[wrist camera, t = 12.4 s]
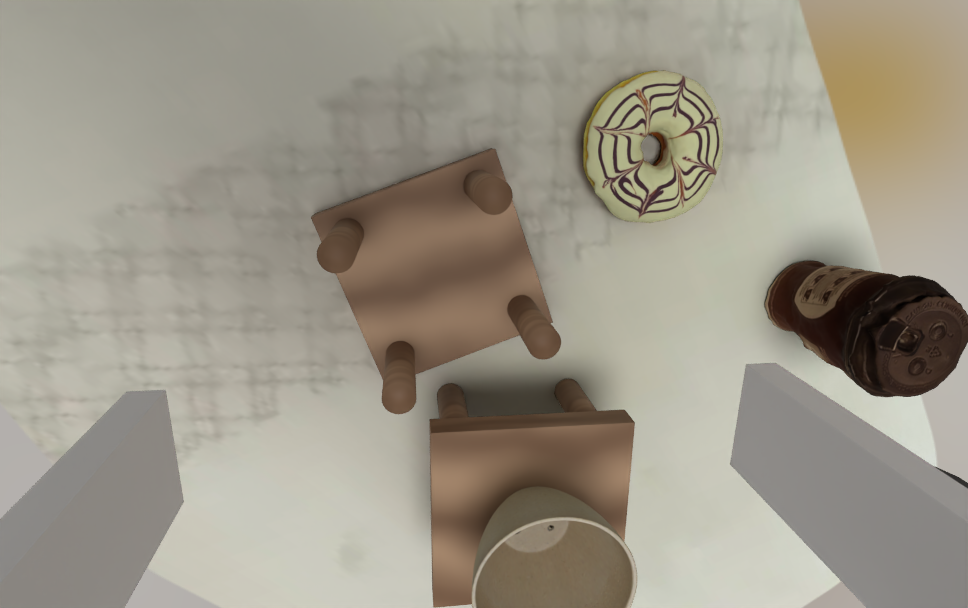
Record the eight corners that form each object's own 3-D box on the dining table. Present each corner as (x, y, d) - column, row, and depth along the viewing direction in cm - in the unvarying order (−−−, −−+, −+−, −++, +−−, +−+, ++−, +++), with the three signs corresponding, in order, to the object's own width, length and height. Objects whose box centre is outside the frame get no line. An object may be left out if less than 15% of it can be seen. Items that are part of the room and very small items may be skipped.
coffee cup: (737, 276, 50) (848, 323, 37) (825, 226, 49) (965, 257, 37) (772, 358, 52) (887, 428, 40) (856, 312, 52) (997, 367, 40)
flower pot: (587, 437, 40) (624, 498, 34) (610, 554, 43) (648, 632, 37) (445, 475, 40) (454, 546, 33) (478, 591, 43) (492, 678, 36)
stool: (425, 374, 48) (430, 433, 39) (591, 367, 50) (634, 422, 41) (428, 521, 52) (433, 607, 43) (582, 510, 54) (619, 590, 44)
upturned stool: (314, 213, 44) (289, 235, 34) (491, 148, 44) (515, 152, 35) (386, 375, 48) (381, 435, 38) (547, 314, 48) (581, 359, 39)
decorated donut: (610, 241, 48) (626, 250, 44) (552, 118, 44) (565, 117, 41) (724, 178, 47) (750, 181, 44) (675, 49, 44) (698, 42, 40)
